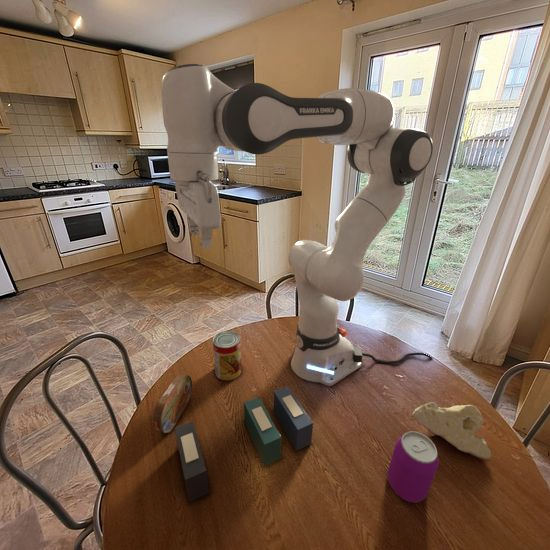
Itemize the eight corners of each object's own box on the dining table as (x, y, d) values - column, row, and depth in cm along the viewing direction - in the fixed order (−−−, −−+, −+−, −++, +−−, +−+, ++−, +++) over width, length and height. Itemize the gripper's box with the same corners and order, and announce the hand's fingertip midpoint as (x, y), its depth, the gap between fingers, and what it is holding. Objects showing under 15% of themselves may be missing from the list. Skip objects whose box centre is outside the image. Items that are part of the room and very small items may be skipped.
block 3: (286, 405, 78) (287, 385, 75) (311, 444, 68) (313, 422, 65) (273, 411, 76) (273, 390, 73) (296, 451, 66) (297, 429, 63)
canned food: (246, 373, 88) (245, 341, 83) (222, 384, 84) (219, 351, 79) (234, 358, 94) (232, 327, 89) (211, 368, 90) (208, 336, 85)
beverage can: (406, 512, 56) (420, 473, 51) (378, 474, 62) (388, 435, 57) (435, 495, 59) (451, 456, 54) (405, 460, 65) (417, 422, 60)
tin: (165, 441, 68) (160, 415, 64) (153, 438, 68) (147, 413, 65) (194, 392, 81) (191, 368, 78) (184, 390, 82) (180, 366, 78)
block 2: (259, 416, 74) (259, 395, 71) (280, 458, 65) (281, 436, 62) (244, 422, 73) (243, 401, 70) (264, 466, 63) (264, 444, 60)
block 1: (196, 441, 68) (193, 420, 65) (209, 492, 58) (206, 469, 55) (178, 448, 66) (174, 426, 63) (188, 502, 57) (184, 479, 54)
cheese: (486, 443, 71) (448, 383, 76) (508, 448, 64) (466, 382, 69) (434, 473, 69) (399, 409, 74) (451, 483, 62) (411, 412, 67)
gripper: (228, 174, 47) (231, 254, 53) (198, 165, 64) (202, 226, 70) (188, 175, 45) (196, 259, 51) (168, 165, 61) (175, 229, 67)
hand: (200, 240), depth 60 cm, fingers open, 8 cm apart
